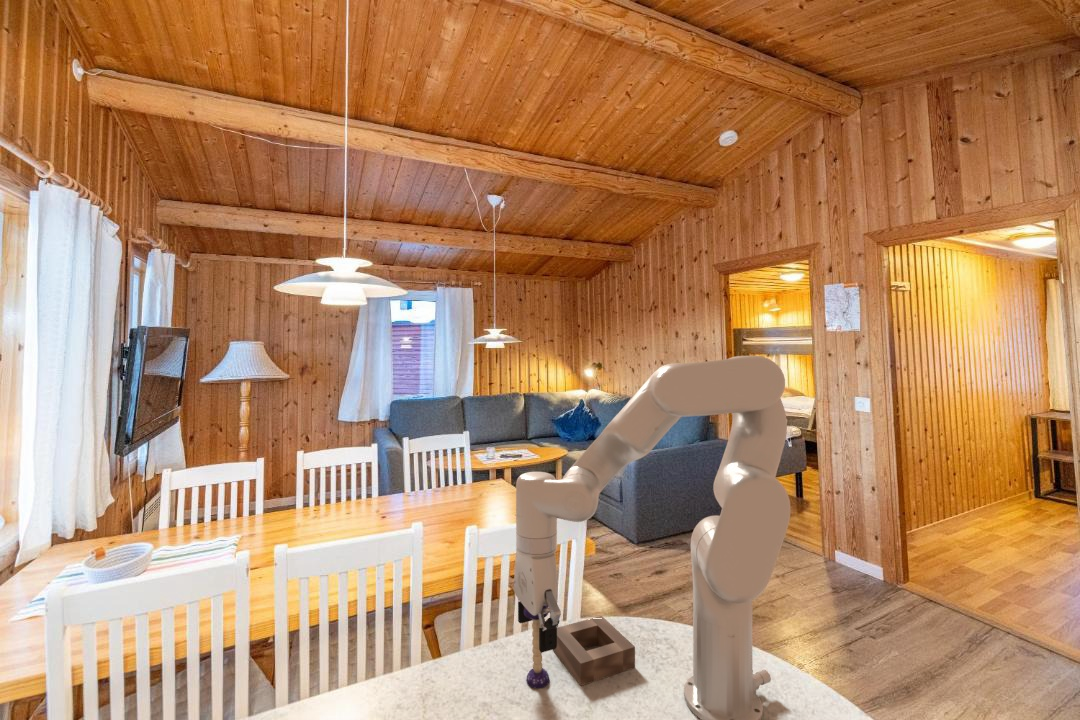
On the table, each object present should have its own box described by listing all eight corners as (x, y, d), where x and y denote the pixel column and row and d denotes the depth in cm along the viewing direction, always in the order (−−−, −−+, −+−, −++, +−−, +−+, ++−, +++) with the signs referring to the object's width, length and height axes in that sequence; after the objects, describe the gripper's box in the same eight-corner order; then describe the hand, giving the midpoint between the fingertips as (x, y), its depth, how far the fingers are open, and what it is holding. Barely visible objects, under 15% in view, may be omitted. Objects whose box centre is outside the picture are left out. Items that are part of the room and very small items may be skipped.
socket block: (601, 634, 100) (601, 615, 100) (635, 667, 89) (635, 646, 89) (551, 648, 95) (551, 629, 95) (580, 685, 84) (580, 663, 84)
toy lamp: (546, 692, 82) (546, 598, 82) (521, 688, 83) (521, 595, 83) (551, 674, 87) (551, 585, 87) (527, 671, 88) (527, 583, 88)
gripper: (501, 529, 91) (501, 615, 91) (537, 563, 75) (537, 668, 75) (536, 523, 94) (536, 607, 94) (577, 555, 79) (577, 656, 78)
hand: (536, 634), depth 85 cm, fingers open, 9 cm apart
